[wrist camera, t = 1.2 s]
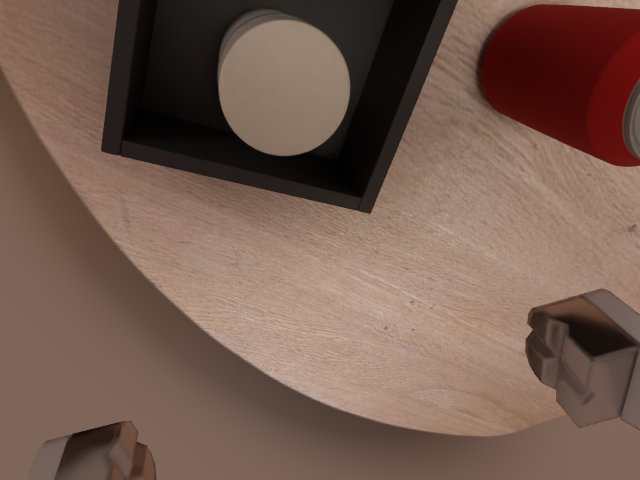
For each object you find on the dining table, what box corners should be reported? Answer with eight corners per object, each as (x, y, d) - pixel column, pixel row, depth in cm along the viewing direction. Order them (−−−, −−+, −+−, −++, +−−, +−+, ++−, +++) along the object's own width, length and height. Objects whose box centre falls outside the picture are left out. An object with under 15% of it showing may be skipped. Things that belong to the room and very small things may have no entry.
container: (201, 76, 25) (193, 117, 18) (246, -16, 23) (259, -15, 16) (282, 123, 27) (307, 178, 20) (329, 42, 26) (377, 68, 18)
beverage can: (556, 112, 31) (720, 174, 21) (466, 116, 30) (593, 185, 20) (585, 2, 28) (795, 14, 18) (484, 3, 27) (648, 15, 17)
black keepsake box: (341, 170, 30) (370, 214, 25) (126, 114, 26) (100, 152, 20) (439, -100, 24) (510, -127, 18) (175, -233, 20) (157, -323, 14)
